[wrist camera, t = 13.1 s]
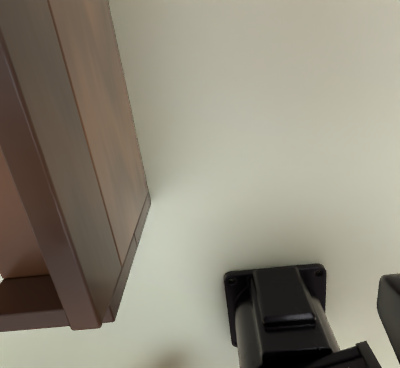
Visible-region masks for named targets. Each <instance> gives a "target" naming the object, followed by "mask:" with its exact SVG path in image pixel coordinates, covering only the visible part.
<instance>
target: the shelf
mask: <svg viewBox="0 0 400 368" xmlns="http://www.w3.org/2000/svg"><path fill="white" fill-rule="evenodd" d="M150 205H151V201H150V196H149V192H148V187H147V182H146V178H145V173H144V168H143V164H142V159H141V154H140V149H139V145H138V140H137V135H136V131H135V126H134V121H133V117H132V112H131V107H130V102H129V98H128V93H127V88H126V84H125V79H124V74H123V69H122V65H121V60H120V55H119V51H118V46H117V41H116V36H115V32H114V27H113V22H112V18H111V13H110V8H109V3H108V0H0V274H1V276H2V278H3V279H4V280H3V281H2V282H1V283H0V332H6V331H17V330H28V329H40V328H51V327H63V326H70V327H71V329H72V330H85V329H96V328H100V327H101V326H102V323H108V322H114V321H115V318H116V315H117V312H118V308H119V305H120V302H121V299H122V295H123V292H124V289H125V286H126V282H127V279H128V276H129V273H130V269H131V266H132V263H133V260H134V256H135V253H136V250H137V247H138V244H139V241H140V237H141V234H142V231H143V228H144V224H145V221H146V218H147V215H148V211H149V208H150Z"/></svg>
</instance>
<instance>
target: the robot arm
mask: <svg viewBox="0 0 400 368" xmlns="http://www.w3.org/2000/svg"><path fill="white" fill-rule="evenodd" d="M316 271H320V272H318V273H315V272H316ZM230 279H235V280H233V281H230ZM224 284H225V292H226V301H227V309H228V317H229V325H230V333H231V341H232V345H233V346H235V347H238V355H239V364H240V368H382V367H381V366H380V364H379V362H378V360H377V359H376V357H375V355H374V354H373V352H372V350H371V348H370V347H369V345H368V343H367V341H363V342H360V343H357V344H356V346H354V347H351V348H348V349H344V350H341V351H340V348H339V346H338V344H337V341H336V339H335V337H334V334H333V332H332V330H331V327H330V325H329V323H328V320H327V318H326V316H325V302H326V270H325V268H324V266H323V265H322V264H306V265H296V266H285V267H275V268H264V269H254V270H243V271H233V272H228V273H226V274H225V276H224ZM377 310H378V314H379V317H380V319H381V321H382V324H383V326H384V328H385V331H386V333H387V335H388V338H389V340H390V342H391V345H392V347H393V349H394V352H395V354H396V356H397V359H398V361H399V363H400V274H389V275H383V276H382V277H381V278H380V281H379V289H378V298H377Z"/></svg>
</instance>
